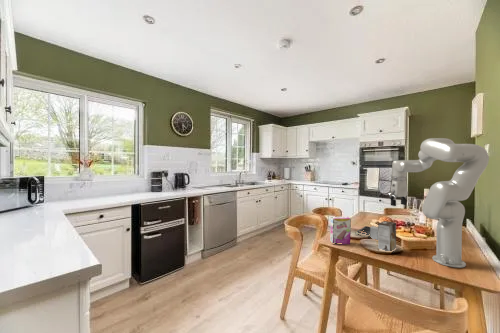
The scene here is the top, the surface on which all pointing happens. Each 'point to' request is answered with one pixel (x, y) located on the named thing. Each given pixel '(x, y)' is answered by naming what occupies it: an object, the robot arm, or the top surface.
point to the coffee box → (387, 236)
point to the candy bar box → (340, 230)
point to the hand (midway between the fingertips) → (398, 205)
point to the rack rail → (365, 230)
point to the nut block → (374, 232)
